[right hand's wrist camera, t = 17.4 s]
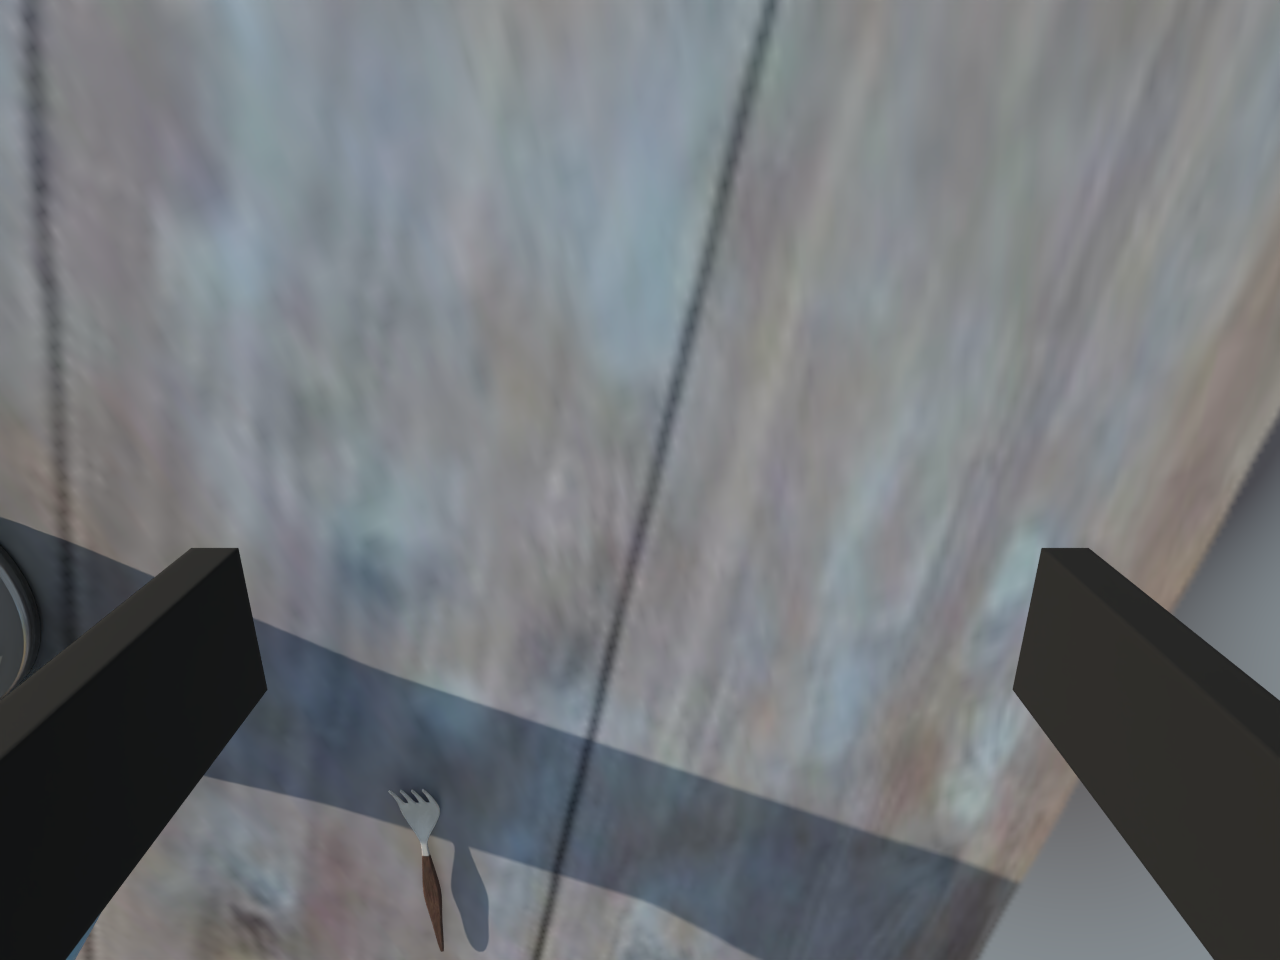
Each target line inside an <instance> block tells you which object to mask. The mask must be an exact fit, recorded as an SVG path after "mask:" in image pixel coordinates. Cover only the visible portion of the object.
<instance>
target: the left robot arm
mask: <svg viewBox="0 0 1280 960" xmlns="http://www.w3.org/2000/svg"><path fill="white" fill-rule="evenodd" d="M40 634H41V629H40V618H39V613H38V609H37V605H36V602H35V599H34V596H33V594H32V591H31V589H30V587H29V585H28V583H27V581H26V579H25V577H24V575H23V574H22V572H21V571H20V569H19V568H18V566H17V565H16V563H15V562H14V561H13V560H12V558H11V557H10V556H9V554H8V553H7V552H6V551H5V550H4V549H3V548H2V547H1V545H0V700H1V699H2V698H3V697H4V696H6V695H7V694H8V693H9V692H11V691H12V690H13V689H14V688H15V687H17V686H18V685H19V684H20V683H21V682H22V681H23V680H24V678H25V677H26V676H27V675H28V673H29V672H30V670H31V668H32V666H33V664H34V662H35V660H36V657H37V654H38V651H39V645H40ZM100 914H101V913H100ZM99 916H100V915H99ZM99 916H98V917H97V919H98V918H99ZM97 919H96V920H95V921H94V923H93V924H92V925H91V927H90V928H89V929H88V931H87V932H86V933H85V935H84V936H83V937H82V939H81V940H80V941H79V943H78V944H77V945H76V947H75V948H74V950H73V951H72V952H71V954H70V955H69V956H68V958H67V959H66V960H75V959H76V957H77V955H78V953H79V951H80V950H81V948H82V946H83V944H84V943H85V941H86V939H87V937H88V936H89V934H90V932H91V930H92V928H93V927H94V925H95V923H96V921H97Z"/></svg>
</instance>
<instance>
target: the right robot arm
mask: <svg viewBox="0 0 1280 960" xmlns="http://www.w3.org/2000/svg"><path fill="white" fill-rule="evenodd" d="M266 691H267V685H266V681H265V676H264V671H263V666H262V661H261V656H260V651H259V646H258V642H257V637H256V632H255V627H254V622H253V617H252V612H251V607H250V603H249V598H248V593H247V588H246V583H245V578H244V573H243V568H242V564H241V559H240V554H239V549H238V548H191V549H190V550H188V551H187V552H186V553H185V554H183V555H182V556H181V557H180V558H178V559H177V560H176V561H175V562H173V563H172V564H171V565H170V566H168V567H167V568H166V569H165V570H163V571H162V572H161V573H160V574H158V575H157V576H156V577H155V578H153V579H152V580H151V581H150V582H148V583H147V584H146V585H145V586H143V587H142V588H141V589H140V590H138V591H137V592H136V593H135V594H133V595H132V596H131V597H130V598H128V599H127V600H126V601H125V602H123V603H122V604H121V605H120V606H118V607H117V608H116V609H114V610H113V611H112V612H111V613H109V614H108V615H107V616H106V617H104V618H103V619H102V620H101V621H99V622H98V623H97V624H96V625H94V626H93V627H92V628H91V629H89V630H88V631H87V632H86V633H84V634H83V635H82V636H81V637H79V638H78V639H77V640H76V641H74V642H73V643H72V644H71V645H69V646H68V647H67V648H66V649H64V650H63V651H62V652H61V653H59V654H58V655H57V656H56V657H54V658H53V659H52V660H51V661H49V662H48V663H47V664H46V665H44V666H43V667H42V668H41V669H39V670H38V671H37V672H36V673H34V674H33V675H32V676H31V677H29V678H28V679H27V680H26V681H24V682H23V683H22V684H21V685H19V686H18V687H17V688H16V689H14V690H13V691H12V692H11V693H9V694H8V695H7V696H6V697H4V698H3V699H2V700H1V701H0V960H66V959H67V958H68V956H69V955H70V954H71V952H72V951H73V950H74V948H75V947H76V945H77V944H78V943H79V941H80V940H81V939H82V937H83V936H84V935H85V933H86V932H87V931H88V929H89V928H90V927H91V925H92V924H93V923H94V921H95V920H96V919H97V917H98V916H99V915H100V913H101V912H102V911H103V909H104V908H105V907H106V905H107V904H108V903H109V901H110V900H111V899H112V897H113V896H114V895H115V893H116V892H117V891H118V889H119V888H120V886H121V885H122V884H123V882H124V881H125V880H126V878H127V877H128V876H129V874H130V873H131V872H132V870H133V869H134V868H135V866H136V865H137V864H138V862H139V861H140V860H141V858H142V857H143V856H144V854H145V853H146V852H147V850H148V849H149V848H150V846H151V845H152V844H153V842H154V841H155V840H156V838H157V837H158V836H159V834H160V833H161V831H162V830H163V829H164V827H165V826H166V825H167V823H168V822H169V821H170V819H171V818H172V817H173V815H174V814H175V813H176V811H177V810H178V809H179V807H180V806H181V805H182V803H183V802H184V801H185V799H186V798H187V797H188V795H189V794H190V793H191V791H192V790H193V789H194V787H195V786H196V785H197V783H198V782H199V781H200V779H201V778H202V777H203V775H204V774H205V772H206V771H207V770H208V768H209V767H210V766H211V764H212V763H213V762H214V760H215V759H216V758H217V756H218V755H219V754H220V752H221V751H222V750H223V748H224V747H225V746H226V744H227V743H228V742H229V740H230V739H231V738H232V736H233V735H234V734H235V732H236V731H237V730H238V728H239V727H240V726H241V724H242V723H243V722H244V720H245V719H246V718H247V716H248V715H249V713H250V712H251V711H252V709H253V708H254V707H255V705H256V704H257V703H258V701H259V700H260V699H261V697H262V696H263V695H264V693H265V692H266ZM1013 691H1014V692H1015V693H1016V695H1017V696H1018V697H1019V699H1020V700H1021V701H1022V703H1023V704H1024V705H1025V707H1026V708H1027V709H1028V711H1029V712H1030V713H1031V715H1032V716H1033V718H1034V719H1035V720H1036V722H1037V723H1038V724H1039V726H1040V727H1041V728H1042V730H1043V731H1044V732H1045V734H1046V735H1047V736H1048V738H1049V739H1050V740H1051V742H1052V743H1053V744H1054V746H1055V747H1056V748H1057V750H1058V751H1059V752H1060V754H1061V755H1062V756H1063V758H1064V759H1065V760H1066V762H1067V763H1068V764H1069V766H1070V767H1071V768H1072V770H1073V771H1074V772H1075V774H1076V775H1077V777H1078V778H1079V779H1080V781H1081V782H1082V783H1083V785H1084V786H1085V787H1086V789H1087V790H1088V791H1089V793H1090V794H1091V795H1092V797H1093V798H1094V799H1095V801H1096V802H1097V803H1098V805H1099V806H1100V807H1101V809H1102V810H1103V811H1104V813H1105V814H1106V815H1107V817H1108V818H1109V819H1110V821H1111V822H1112V823H1113V825H1114V826H1115V827H1116V829H1117V830H1118V832H1119V833H1120V834H1121V836H1122V837H1123V838H1124V840H1125V841H1126V842H1127V844H1128V845H1129V846H1130V848H1131V849H1132V850H1133V852H1134V853H1135V854H1136V856H1137V857H1138V858H1139V860H1140V861H1141V862H1142V864H1143V865H1144V866H1145V868H1146V869H1147V870H1148V872H1149V873H1150V874H1151V876H1152V877H1153V878H1154V880H1155V881H1156V882H1157V884H1158V885H1159V886H1160V888H1161V889H1162V890H1163V892H1164V893H1165V895H1166V896H1167V897H1168V899H1169V900H1170V901H1171V903H1172V904H1173V905H1174V907H1175V908H1176V909H1177V911H1178V912H1179V913H1180V915H1181V916H1182V917H1183V919H1184V920H1185V921H1186V923H1187V924H1188V925H1189V927H1190V928H1191V929H1192V931H1193V932H1194V933H1195V935H1196V936H1197V937H1198V939H1199V940H1200V941H1201V943H1202V944H1203V945H1204V947H1205V948H1206V949H1207V951H1208V952H1209V954H1210V955H1211V956H1212V957H1213V959H1214V960H1280V701H1279V700H1278V699H1277V698H1276V697H1274V696H1273V695H1272V694H1271V693H1269V692H1268V691H1267V690H1266V689H1264V688H1263V687H1262V686H1261V685H1259V684H1258V683H1257V682H1256V681H1254V680H1253V679H1252V678H1251V677H1249V676H1248V675H1247V674H1246V673H1244V672H1243V671H1242V670H1241V669H1239V668H1238V667H1237V666H1236V665H1234V664H1233V663H1232V662H1231V661H1229V660H1228V659H1227V658H1226V657H1224V656H1223V655H1222V654H1221V653H1219V652H1218V651H1217V650H1216V649H1214V648H1213V647H1212V646H1211V645H1209V644H1208V643H1207V642H1205V641H1204V640H1203V639H1202V638H1201V637H1199V636H1198V635H1197V634H1196V633H1194V632H1193V631H1192V630H1191V629H1189V628H1188V627H1187V626H1186V625H1184V624H1183V623H1182V622H1181V621H1179V620H1178V619H1177V618H1176V617H1174V616H1173V615H1172V614H1171V613H1169V612H1168V611H1167V610H1166V609H1164V608H1163V607H1162V606H1160V605H1159V604H1158V603H1157V602H1155V601H1154V600H1153V599H1152V598H1150V597H1149V596H1148V595H1147V594H1145V593H1144V592H1143V591H1142V590H1140V589H1139V588H1138V587H1137V586H1135V585H1134V584H1133V583H1132V582H1130V581H1129V580H1128V579H1127V578H1125V577H1124V576H1123V575H1122V574H1120V573H1119V572H1118V571H1117V570H1115V569H1114V568H1113V567H1112V566H1110V565H1109V564H1108V563H1107V562H1105V561H1104V560H1103V559H1102V558H1100V557H1099V556H1098V555H1097V554H1095V553H1094V552H1093V551H1092V550H1090V549H1089V548H1042V549H1041V554H1040V559H1039V564H1038V568H1037V573H1036V578H1035V583H1034V588H1033V593H1032V598H1031V603H1030V607H1029V612H1028V617H1027V622H1026V627H1025V632H1024V637H1023V642H1022V646H1021V651H1020V656H1019V661H1018V666H1017V671H1016V676H1015V681H1014V685H1013Z"/></svg>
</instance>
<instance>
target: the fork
mask: <svg viewBox="0 0 1280 960" xmlns="http://www.w3.org/2000/svg"><path fill="white" fill-rule="evenodd" d="M388 792H389V793H390V794H391V795H392V796H393V797H394V798H395V800H396V801H397V803H398V805H399V807H400V810H401V812H402V814H403V816H404V818H405V819H406V821H407V822H408V824H409V825H410V826H411V828H412V829H413V831H414V832H415V834H416V835H417V837H418V839H419V841H420V843H421V847H422V870H423V892H424V897H425V901H426V905H427V908H428V911H429V914H430V918H431V921H432V924H433V928H434V931H435V935H436V938H437V942H438V945H439V948H440V951H441V952H443V951H444V941H443V924H442V895H441V888H440V884H439V881H438V877H437V874H436V871H435V868H434V865H433V862H432V859H431V855H430V852H429V849H428V838H429V836H430V834H431V832H432V830H433V828H434V826H435V825H436V823H437V821H438V818H439V815H440V808H439V805H438V804H437V802H436V801H435V800H434V798H433V797H432V796H431V795H430V794H429V793H428V792H427V791H425V790H424V789H422V792H423V793H424V794H425V795H426V797H427V798H428V800H429V802H426V801H424V800H423V798H422V797H421V796H420V795H419V794H417V793H416V792H415V791H414V790H413V789H411V792H412V793H413V794H414V795H415V797H416V798H417V800H418V801H419V802H418V803H417V802H415V801H413V800H412V799H411V797H410V796H409V795H407V794H406V793H405V792H404V791H403V790H400V793H401V794H402V795H403V796H404V797H405V798H406V800H407V801H408V803H405V802H403V801H402V800H401V799H400V798H399V797H398V796H397V795H396V794H395V793H394V792H392V791H391V790H389V791H388Z"/></svg>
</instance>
